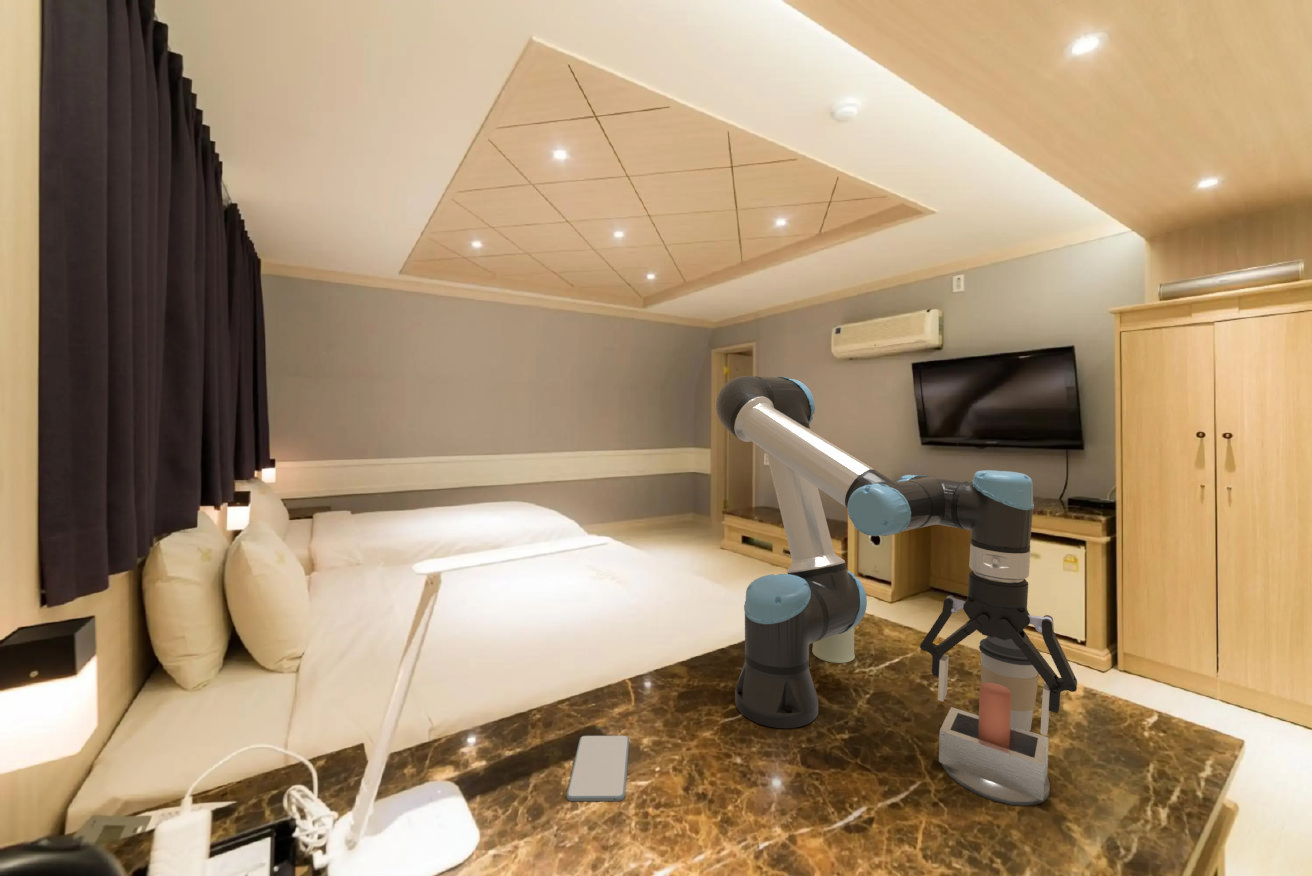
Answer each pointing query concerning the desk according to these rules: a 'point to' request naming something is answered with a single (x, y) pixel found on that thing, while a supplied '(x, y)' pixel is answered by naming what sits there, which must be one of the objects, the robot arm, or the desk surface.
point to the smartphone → (599, 769)
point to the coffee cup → (1010, 677)
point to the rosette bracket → (995, 761)
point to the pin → (995, 714)
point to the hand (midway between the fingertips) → (990, 713)
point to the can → (836, 647)
